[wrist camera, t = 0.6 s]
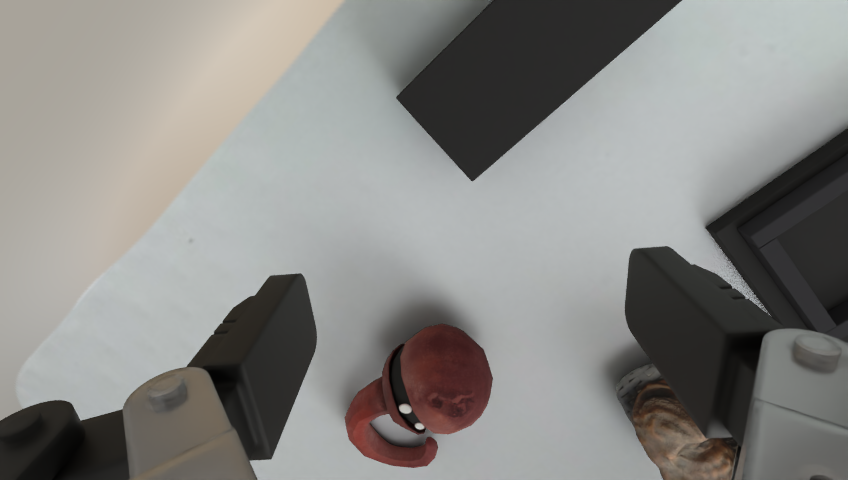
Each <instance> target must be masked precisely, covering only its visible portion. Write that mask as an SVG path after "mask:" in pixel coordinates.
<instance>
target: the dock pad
mask: <svg viewBox="0 0 848 480" xmlns="http://www.w3.org/2000/svg"><path fill="white" fill-rule="evenodd" d="M706 229H707V230H708V231H709V233H710V234H711V235H712V237H713V238H714V239H715V241H716V242H717V243H718V245H719V246H720V247H721V249H722V250H723V252H724V253H725V254H726V256H727V257H728V258H729V260H730V261H731V262H732V264H733V265H734V266H735V268H736V269H737V270H738V272H739V273H740V274H741V276H742V277H743V278H744V280H745V281H746V282H747V284H748V285H749V286H750V288H751V289H752V291H753V292H754V293H755V295H756V296H757V297H758V299H759V300H760V301H761V303H762V304H763V305H764V307H765V308H766V309H767V311H768V312H769V313H770V315H771V316H772V317H773V319H775V320H776V321H777V322H778V323H780V324H781V325H782V326H784V327H785V328H786V329H803V330H809V331H814V332H819V333H822V334H826V335H829V336H832V337H835V338H837V339H840V340H842V341H845V342H847V343H848V129H847V130H845V131H844V132H843V133H841V134H840V135H838V136H837V137H835V138H834V139H832V140H831V141H830V142H828V143H827V144H825V145H824V146H822V147H821V148H819V149H818V150H817V151H815V152H814V153H812V154H811V155H809V156H808V157H807V158H805V159H804V160H802V161H801V162H799V163H798V164H796V165H795V166H794V167H792V168H791V169H789V170H788V171H786V172H785V173H784V174H782V175H781V176H779V177H778V178H776V179H775V180H773V181H772V182H771V183H769V184H768V185H766V186H765V187H763V188H762V189H761V190H759V191H758V192H756V193H755V194H753V195H752V196H750V197H749V198H748V199H746V200H745V201H743V202H742V203H740V204H739V205H737V206H736V207H735V208H733V209H732V210H730V211H729V212H727V213H726V214H725V215H723V216H722V217H720V218H719V219H717V220H716V221H714V222H713V223H712V224H710V225H709V226H707V227H706Z"/></svg>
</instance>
